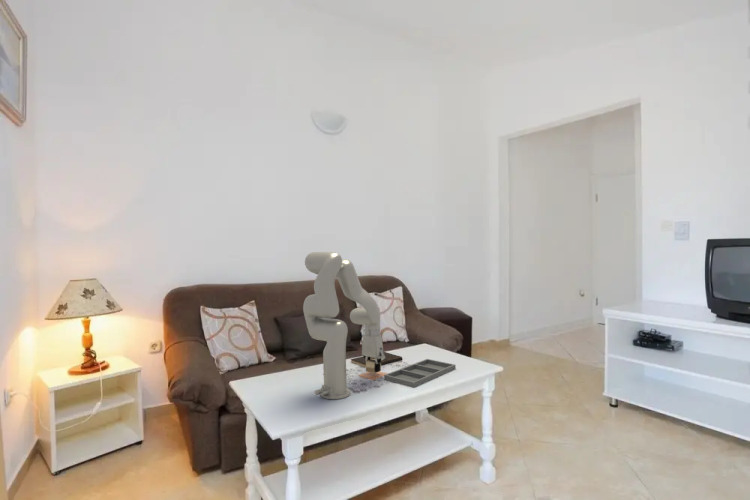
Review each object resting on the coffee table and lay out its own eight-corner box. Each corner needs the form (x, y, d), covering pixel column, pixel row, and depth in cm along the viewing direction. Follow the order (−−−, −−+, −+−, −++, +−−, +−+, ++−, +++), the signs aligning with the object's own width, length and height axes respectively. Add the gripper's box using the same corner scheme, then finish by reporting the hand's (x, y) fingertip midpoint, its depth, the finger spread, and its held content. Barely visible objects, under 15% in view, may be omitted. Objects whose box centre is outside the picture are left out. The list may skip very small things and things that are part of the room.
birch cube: (373, 373, 194) (373, 362, 194) (366, 371, 197) (365, 360, 197) (380, 371, 197) (380, 360, 197) (373, 369, 201) (373, 358, 201)
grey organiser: (413, 388, 178) (413, 382, 178) (384, 380, 190) (384, 375, 190) (455, 369, 203) (455, 364, 203) (427, 363, 215) (427, 358, 215)
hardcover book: (350, 363, 221) (350, 359, 221) (383, 355, 235) (383, 351, 235) (369, 370, 208) (368, 365, 208) (402, 361, 223) (402, 356, 223)
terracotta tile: (374, 380, 190) (374, 379, 190) (358, 376, 197) (358, 375, 197) (388, 375, 197) (388, 373, 197) (373, 371, 204) (372, 370, 204)
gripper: (354, 331, 200) (355, 368, 200) (380, 336, 188) (381, 375, 189) (365, 328, 205) (366, 365, 206) (391, 333, 194) (392, 371, 194)
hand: (373, 370), depth 197 cm, fingers closed on birch cube, 4 cm apart
